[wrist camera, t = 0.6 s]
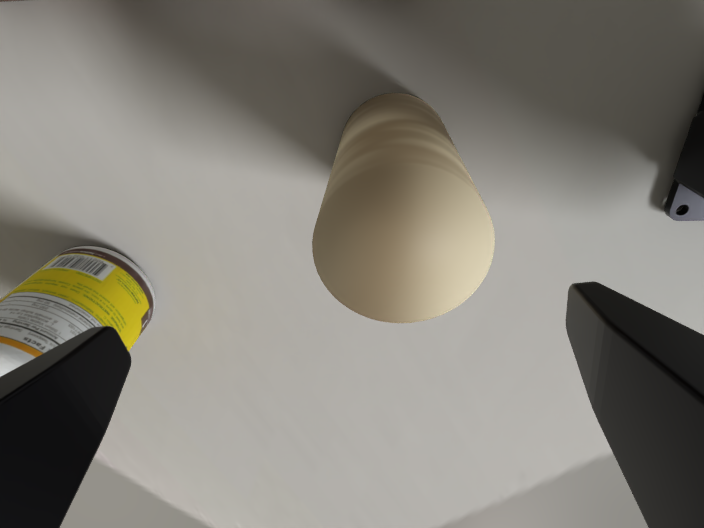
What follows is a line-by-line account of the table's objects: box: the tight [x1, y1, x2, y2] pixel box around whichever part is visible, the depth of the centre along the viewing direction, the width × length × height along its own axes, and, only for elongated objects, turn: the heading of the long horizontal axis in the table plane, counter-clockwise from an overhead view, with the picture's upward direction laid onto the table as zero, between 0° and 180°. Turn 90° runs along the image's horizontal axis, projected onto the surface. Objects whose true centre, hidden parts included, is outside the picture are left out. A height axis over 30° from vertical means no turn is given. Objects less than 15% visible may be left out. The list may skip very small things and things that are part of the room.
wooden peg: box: [312, 93, 495, 323], centre depth 15 cm, size 4×4×9 cm
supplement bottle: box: [0, 246, 155, 377], centre depth 19 cm, size 6×6×10 cm
